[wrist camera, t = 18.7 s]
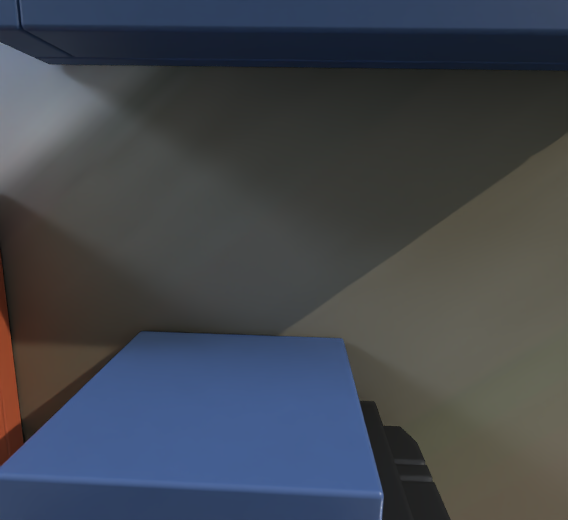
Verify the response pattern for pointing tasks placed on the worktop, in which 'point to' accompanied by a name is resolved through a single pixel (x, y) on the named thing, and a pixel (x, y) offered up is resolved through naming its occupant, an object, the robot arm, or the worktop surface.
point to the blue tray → (292, 33)
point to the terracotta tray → (7, 386)
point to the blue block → (203, 437)
